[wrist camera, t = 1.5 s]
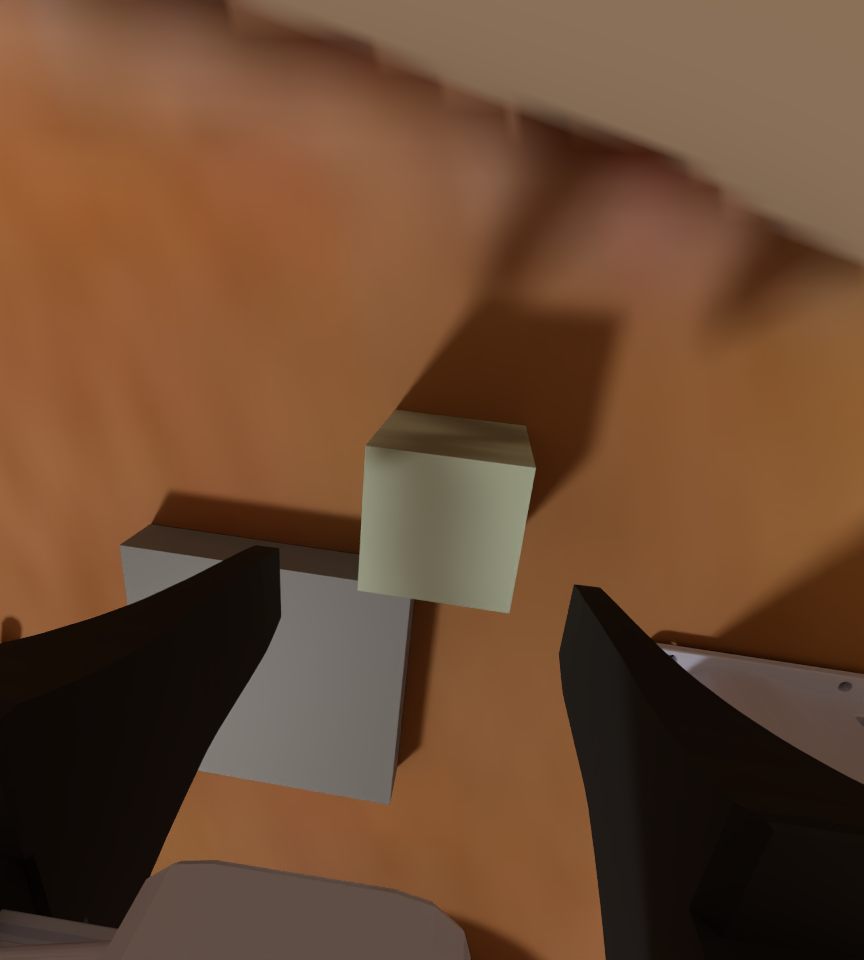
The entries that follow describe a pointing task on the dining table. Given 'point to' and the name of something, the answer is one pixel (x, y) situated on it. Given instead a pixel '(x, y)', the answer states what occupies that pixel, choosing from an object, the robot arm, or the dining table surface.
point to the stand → (301, 667)
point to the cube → (445, 509)
